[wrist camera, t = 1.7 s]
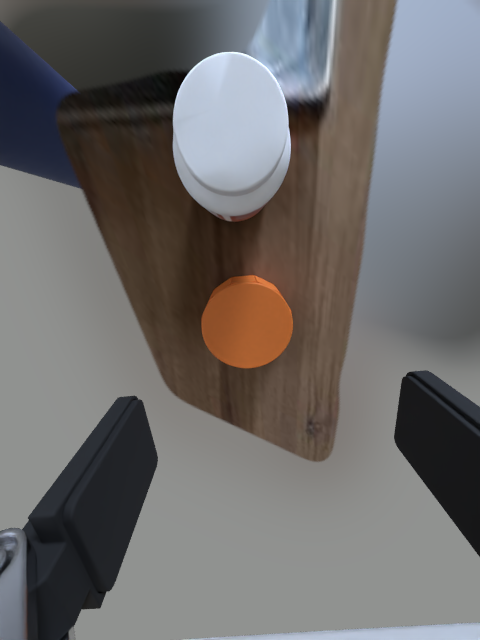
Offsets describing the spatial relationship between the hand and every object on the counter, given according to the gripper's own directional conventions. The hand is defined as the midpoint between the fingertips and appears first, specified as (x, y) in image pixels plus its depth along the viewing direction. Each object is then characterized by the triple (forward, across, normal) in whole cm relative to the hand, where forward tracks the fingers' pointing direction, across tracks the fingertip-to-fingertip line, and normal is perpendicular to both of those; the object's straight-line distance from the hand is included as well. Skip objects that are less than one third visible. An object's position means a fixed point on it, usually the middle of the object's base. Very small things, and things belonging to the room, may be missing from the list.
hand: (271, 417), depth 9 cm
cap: (+16, +1, +1) cm, 16 cm away
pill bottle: (+16, +1, -11) cm, 19 cm away
